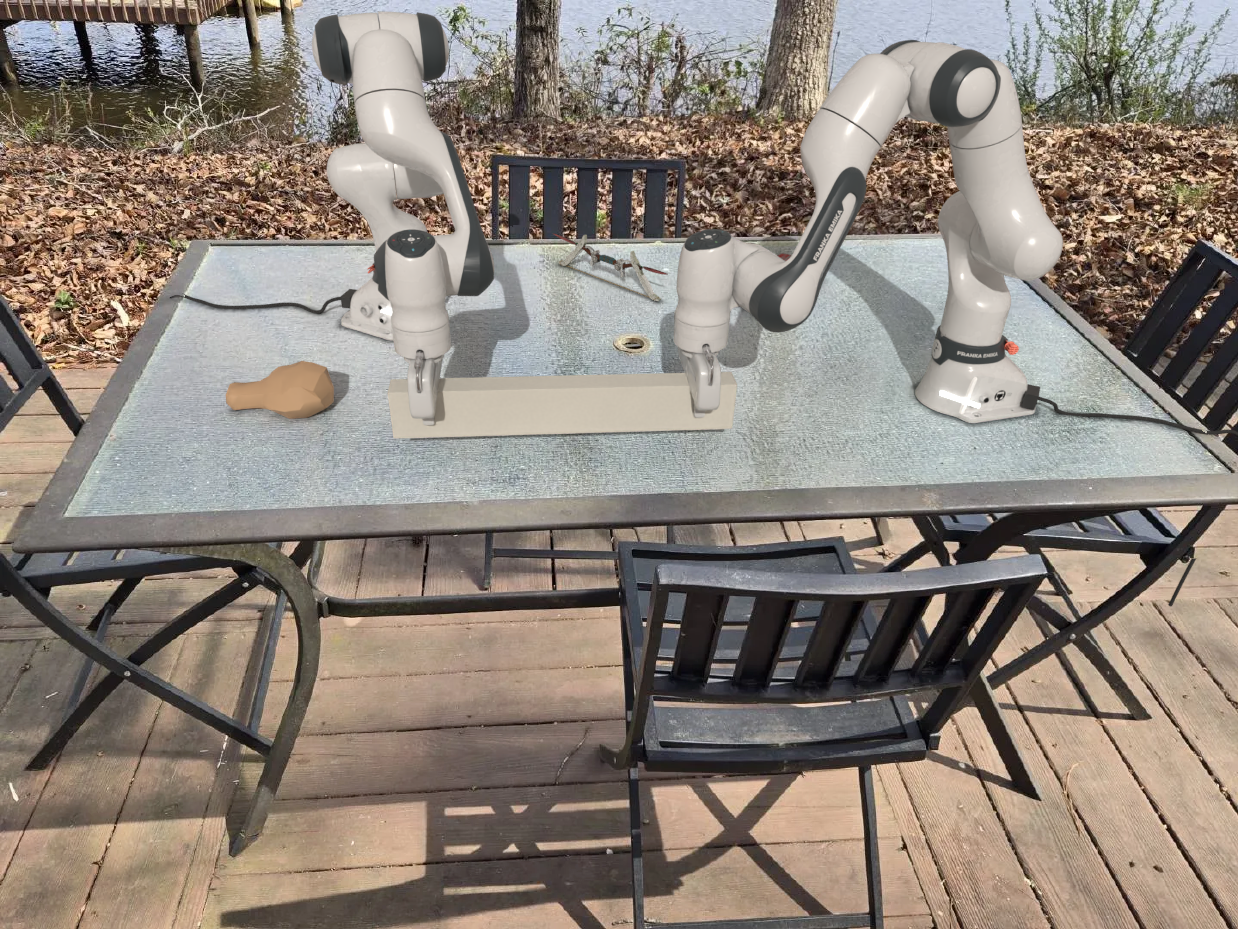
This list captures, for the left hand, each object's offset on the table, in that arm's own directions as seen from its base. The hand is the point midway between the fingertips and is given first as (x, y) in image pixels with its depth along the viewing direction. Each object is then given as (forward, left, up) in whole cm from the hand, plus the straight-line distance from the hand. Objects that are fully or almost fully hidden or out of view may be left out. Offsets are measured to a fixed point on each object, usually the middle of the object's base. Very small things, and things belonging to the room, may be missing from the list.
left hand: (430, 413), depth 145 cm
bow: (+2, +87, -10) cm, 87 cm away
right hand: (+41, +18, 0) cm, 44 cm away
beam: (+20, +9, -3) cm, 23 cm away
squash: (-34, +6, -10) cm, 36 cm away
